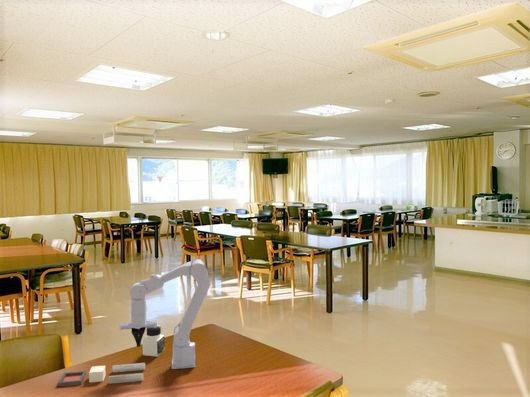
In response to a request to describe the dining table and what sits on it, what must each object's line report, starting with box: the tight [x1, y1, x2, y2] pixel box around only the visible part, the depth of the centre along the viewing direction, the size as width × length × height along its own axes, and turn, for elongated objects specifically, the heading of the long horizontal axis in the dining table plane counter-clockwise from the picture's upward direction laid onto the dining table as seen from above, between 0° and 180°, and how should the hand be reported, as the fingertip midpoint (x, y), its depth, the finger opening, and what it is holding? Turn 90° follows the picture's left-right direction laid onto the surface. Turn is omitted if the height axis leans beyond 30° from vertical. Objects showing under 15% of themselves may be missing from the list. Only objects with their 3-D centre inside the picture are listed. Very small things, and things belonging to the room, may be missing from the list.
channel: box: [108, 362, 146, 385], centre depth 161 cm, size 12×10×2 cm
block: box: [88, 365, 107, 383], centre depth 158 cm, size 5×5×4 cm
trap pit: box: [57, 370, 87, 387], centre depth 157 cm, size 8×8×1 cm
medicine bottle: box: [142, 324, 166, 358], centre depth 182 cm, size 7×7×12 cm
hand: (138, 345), depth 167 cm, fingers closed
